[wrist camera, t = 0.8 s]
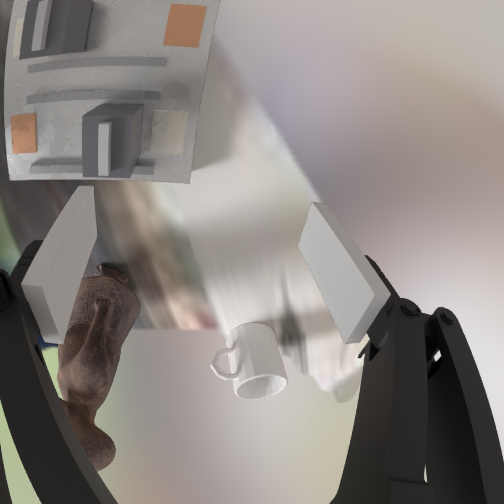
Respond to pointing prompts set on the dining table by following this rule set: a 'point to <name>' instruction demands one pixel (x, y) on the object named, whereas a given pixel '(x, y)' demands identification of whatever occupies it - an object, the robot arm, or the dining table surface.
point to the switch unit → (111, 88)
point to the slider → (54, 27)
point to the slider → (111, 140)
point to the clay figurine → (95, 355)
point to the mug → (252, 362)
